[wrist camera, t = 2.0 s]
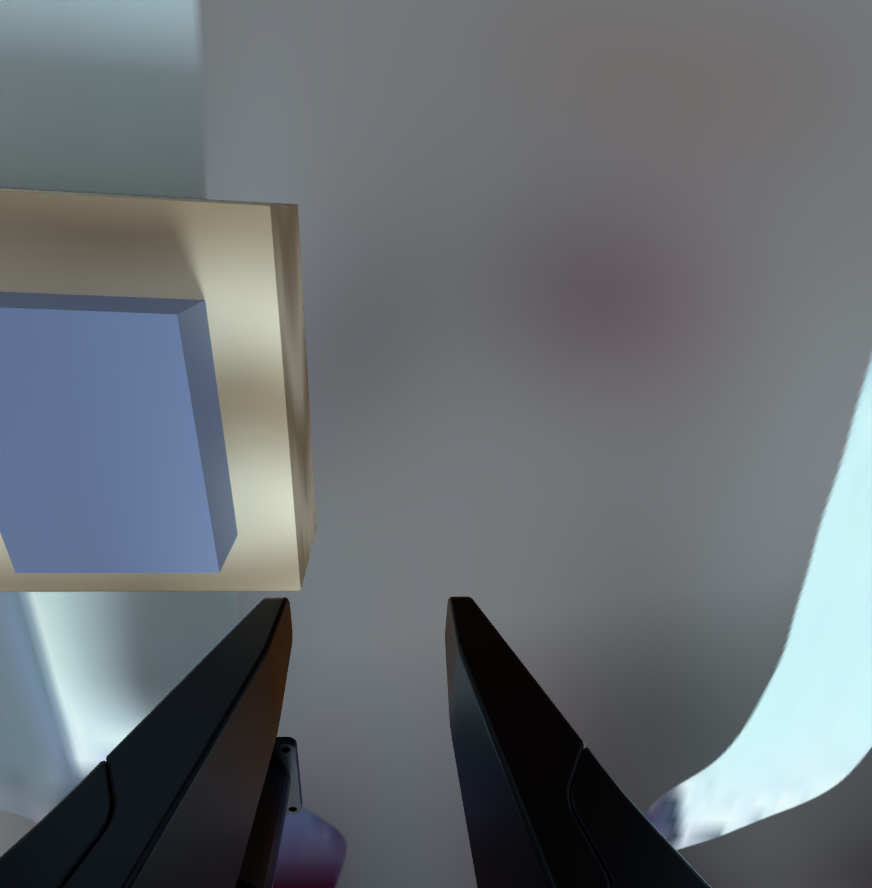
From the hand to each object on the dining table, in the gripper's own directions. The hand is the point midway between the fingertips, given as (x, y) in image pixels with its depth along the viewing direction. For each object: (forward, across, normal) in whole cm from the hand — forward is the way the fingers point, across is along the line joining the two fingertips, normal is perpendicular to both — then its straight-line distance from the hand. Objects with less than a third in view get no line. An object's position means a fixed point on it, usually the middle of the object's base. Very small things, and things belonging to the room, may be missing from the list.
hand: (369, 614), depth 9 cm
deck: (+12, +9, 0) cm, 15 cm away
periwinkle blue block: (+8, +8, 0) cm, 11 cm away
